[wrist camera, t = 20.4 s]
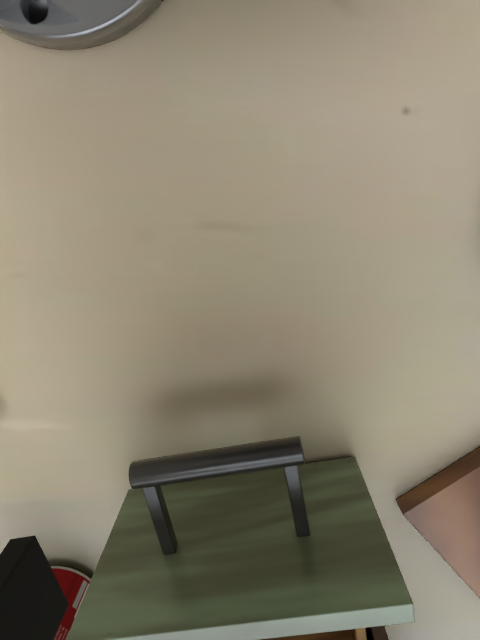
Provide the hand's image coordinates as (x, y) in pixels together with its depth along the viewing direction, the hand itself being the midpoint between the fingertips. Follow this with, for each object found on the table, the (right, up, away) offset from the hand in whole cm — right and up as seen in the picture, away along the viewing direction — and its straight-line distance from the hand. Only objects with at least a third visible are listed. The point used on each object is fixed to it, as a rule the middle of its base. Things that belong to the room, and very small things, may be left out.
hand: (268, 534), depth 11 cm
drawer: (0, -10, +20) cm, 22 cm away
